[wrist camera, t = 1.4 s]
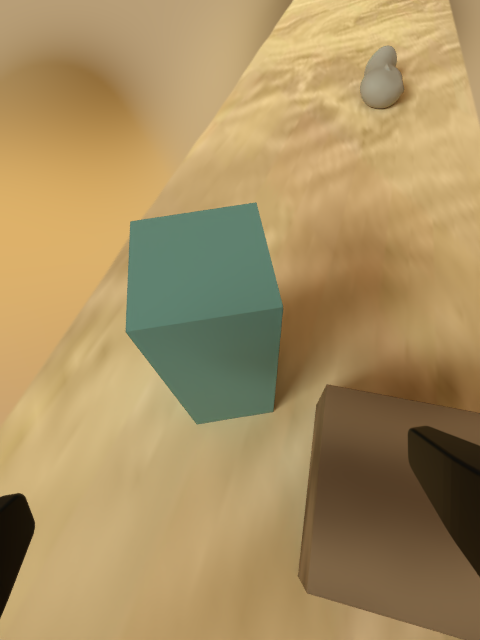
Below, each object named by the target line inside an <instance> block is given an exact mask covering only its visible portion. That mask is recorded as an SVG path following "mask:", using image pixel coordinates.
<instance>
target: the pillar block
mask: <svg viewBox="0 0 480 640" xmlns="http://www.w3.org/2000/svg"><path fill="white" fill-rule="evenodd" d="M282 314H283V304H282V301H281V297H280V293H279V289H278V285H277V281H276V277H275V273H274V269H273V266H272V262H271V258H270V254H269V250H268V246H267V242H266V238H265V234H264V231H263V227H262V223H261V219H260V215H259V211H258V207H257V203H250V204H243V205H237V206H230V207H223V208H217V209H210V210H203V211H197V212H190V213H184V214H177V215H170V216H164V217H157V218H150V219H144V220H137V221H131V222H130V242H129V265H128V288H127V311H126V333H127V334H128V336H129V337H130V338H131V340H132V341H133V342H134V344H135V345H136V346H137V347H138V349H139V350H140V351H141V353H142V354H143V355H144V356H145V358H146V359H147V360H148V362H149V363H150V364H151V366H152V367H153V368H154V369H155V371H156V372H157V373H158V375H159V376H160V377H161V379H162V380H163V381H164V382H165V384H166V385H167V386H168V388H169V389H170V390H171V391H172V393H173V394H174V395H175V397H176V398H177V399H178V401H179V402H180V403H181V404H182V406H183V407H184V408H185V410H186V411H187V412H188V414H189V415H190V416H191V417H192V419H193V420H194V421H195V423H196V424H202V423H208V422H214V421H220V420H227V419H233V418H239V417H245V416H251V415H257V414H263V413H269V412H273V409H274V399H275V388H276V378H277V367H278V356H279V346H280V335H281V325H282Z"/></svg>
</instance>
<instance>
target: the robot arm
mask: <svg viewBox="0 0 480 640" xmlns="http://www.w3.org/2000/svg"><path fill="white" fill-rule="evenodd" d="M408 461H409V464H410V467H411V469H412V471H413V473H414V474H415V476H416V478H417V480H418V481H419V483H420V485H421V486H422V488H423V490H424V492H425V493H426V495H427V497H428V498H429V500H430V502H431V504H432V505H433V507H434V509H435V511H436V512H437V514H438V516H439V517H440V519H441V521H442V523H443V524H444V526H445V528H446V529H447V531H448V532H449V534H450V536H451V537H452V539H453V540H454V541H455V543H456V544H457V546H458V547H459V549H460V550H461V552H462V553H463V554H464V556H465V557H466V559H467V560H468V561H469V563H470V564H471V566H472V567H473V569H474V570H475V571H476V573H477V574H478V576H479V577H480V445H477V444H474V443H472V442H469V441H467V440H464V439H461V438H459V437H456V436H453V435H451V434H448V433H446V432H443V431H440V430H438V429H435V428H433V427H430V426H419V427H413V428H410V429H409V430H408ZM34 529H35V521H34V518H33V516H32V513H31V510H30V508H29V505H28V502H27V500H26V497H25V496H24V495H23V494H21V493H17V494H11V495H5V496H2V497H0V618H1V616H2V613H3V611H4V608H5V606H6V604H7V601H8V599H9V596H10V594H11V591H12V588H13V586H14V583H15V581H16V578H17V575H18V573H19V570H20V568H21V565H22V562H23V560H24V557H25V555H26V552H27V549H28V547H29V544H30V542H31V539H32V537H33V534H34Z"/></svg>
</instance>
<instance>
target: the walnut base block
mask: <svg viewBox="0 0 480 640" xmlns="http://www.w3.org/2000/svg"><path fill="white" fill-rule="evenodd" d="M419 426H430V427H433V428H435V429H438V430H440V431H443V432H446V433H448V434H451V435H453V436H456V437H459V438H461V439H464V440H467V441H469V442H472V443H474V444H477V445H480V413H477V412H471V411H466V410H461V409H455V408H450V407H445V406H439V405H434V404H429V403H423V402H418V401H413V400H407V399H402V398H397V397H391V396H386V395H381V394H375V393H370V392H365V391H359V390H354V389H349V388H343V387H338V386H333V385H326V387H325V389H324V391H323V393H322V395H321V397H320V399H319V401H318V403H317V405H316V414H315V423H314V433H313V442H312V451H311V461H310V470H309V479H308V489H307V498H306V507H305V516H304V526H303V535H302V544H301V554H300V563H299V572H298V577H299V579H300V581H301V583H302V585H303V586H304V588H305V590H306V592H307V593H308V594H311V595H315V596H318V597H322V598H325V599H328V600H332V601H335V602H339V603H342V604H345V605H349V606H352V607H355V608H359V609H362V610H366V611H369V612H372V613H376V614H379V615H383V616H386V617H389V618H393V619H396V620H399V621H403V622H406V623H410V624H413V625H416V626H420V627H423V628H427V629H430V630H433V631H437V632H440V633H443V634H447V635H450V636H454V637H457V638H460V639H464V640H480V577H479V576H478V574H477V573H476V571H475V570H474V569H473V567H472V566H471V564H470V563H469V561H468V560H467V559H466V557H465V556H464V554H463V553H462V552H461V550H460V549H459V547H458V546H457V544H456V543H455V541H454V540H453V539H452V537H451V536H450V534H449V532H448V531H447V529H446V528H445V526H444V524H443V523H442V521H441V519H440V517H439V516H438V514H437V512H436V511H435V509H434V507H433V505H432V504H431V502H430V500H429V498H428V497H427V495H426V493H425V492H424V490H423V488H422V486H421V485H420V483H419V481H418V480H417V478H416V476H415V474H414V473H413V471H412V469H411V467H410V464H409V461H408V430H409V429H410V428H413V427H419Z"/></svg>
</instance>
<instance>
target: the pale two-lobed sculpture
mask: <svg viewBox="0 0 480 640" xmlns="http://www.w3.org/2000/svg"><path fill="white" fill-rule="evenodd" d="M396 62H397V55H396V51H395V49H394V48H393V47H392V46H384V47H382V48H380V49H379V50H378V51H376V52H375V53H374V55H373V56H372V57H371V58H370V60H369V61H368V63H367V65H366V68H365V74H364V78H363V80H362V82H361V86H360V93H361V97H362V99H363V101H364V102H365V103H366V104H367V105H368V106H370V107H373V108H386V107H389V106H391V105H392V104H394V103H395V102H396V101H397V100H398V99H399V97H400V95H401V94H402V93H403V91H404V86H403V81H402V75H401V73H400V71H399V70H398V69H397V68H396V67H395V66H396Z"/></svg>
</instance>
